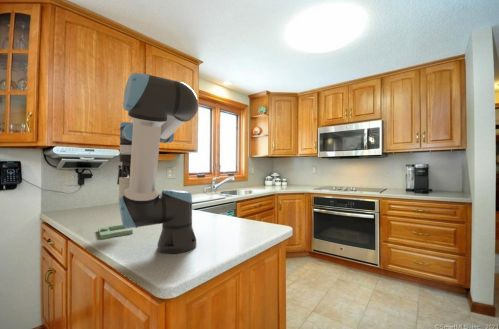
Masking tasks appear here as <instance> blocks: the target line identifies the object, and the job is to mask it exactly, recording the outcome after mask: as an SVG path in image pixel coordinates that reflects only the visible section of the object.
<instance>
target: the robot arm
mask: <svg viewBox="0 0 499 329" xmlns="http://www.w3.org/2000/svg"><path fill="white" fill-rule="evenodd" d="M126 80H127V81H126V84H125V88H124V93H123V103H122V106H123V107H122V108H123V110H124V111H127V112H128V115H127V116H128V117H129V119H130V120H131V121H132V122H130V121H122V122H120V123H119V153H120V155H119V162H120V163H122V164H121V165H120V164H119V165H118V168H117V169H118V173H117V183H116V184H117V186H119V177H129V178H130V183H129V188H127V189H126V190H125V191H124V196H121V197H119V196H118V207H119V212H120V219H121V225H122V224H123V226H124V227H125V228H124V229H132V228H135V229H137V228H141V227H146V226H147V227H148V226H154V225H160V224H161V227H162V228H161V231H160V232H161V233H160V235H159V239H158V242H157V250H158V252H160V253H163V254H179V253H180V254H181V253H185V252H188V251H191V250H193V249H195V248H196V247H197V238H196V235H195V231H194V228H193V195H192V193H191V192H190V191H187V190H178V189H162V191H161V193H160V190H158V189H157V187H156V185H157V184H156V183H157V174H158V163H159V154H160V144H162V143H163V144H172V143H173V142H174V138H175V133H176V131H177V130H178V129H180V128H181V126H182V125H183V124H185V123H186V122H190V121H191V120H192V119H194V117H195V116H196V114H197V112H198V110H199V100H198V97H197V95H196V93H195V91H194V90H193V89H192V88H191V87H190V86H189V85H188V84H186V83H185V82H182V81H180V80H173V79H168V78H165V77H162V76H161V77H160V76H156V75H150V74H148V73H141V72H133V73H131V74H129V76H128V78H127V79H126Z"/></svg>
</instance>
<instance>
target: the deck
mask: <svg viewBox="0 0 499 329" xmlns="http://www.w3.org/2000/svg"><path fill="white" fill-rule="evenodd" d="M122 229H126V228H125V227H124V226H123V224H122V223H121V224H115V225H109V226H108V225H107V226H100V227H98V229H97V231H98V234H99V237H100V240H104V239H109V238H110V239H111V238H114V237H120V236H125V235H133V229H132V228H129V229H126V230H122ZM114 230H115V231H114ZM116 230H117V231H116ZM118 230H120V231H118ZM111 231H112V232H111Z"/></svg>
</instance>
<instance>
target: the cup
mask: <svg viewBox="0 0 499 329" xmlns="http://www.w3.org/2000/svg"><path fill="white" fill-rule="evenodd" d="M129 183H130V178H129V176H128V177H119V185H118V198H119V197H121V196H124V191H125V190H126V189H127V188H129Z"/></svg>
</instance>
